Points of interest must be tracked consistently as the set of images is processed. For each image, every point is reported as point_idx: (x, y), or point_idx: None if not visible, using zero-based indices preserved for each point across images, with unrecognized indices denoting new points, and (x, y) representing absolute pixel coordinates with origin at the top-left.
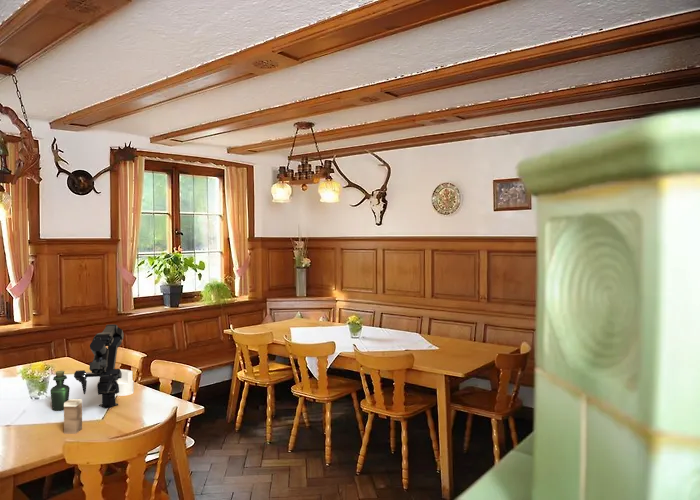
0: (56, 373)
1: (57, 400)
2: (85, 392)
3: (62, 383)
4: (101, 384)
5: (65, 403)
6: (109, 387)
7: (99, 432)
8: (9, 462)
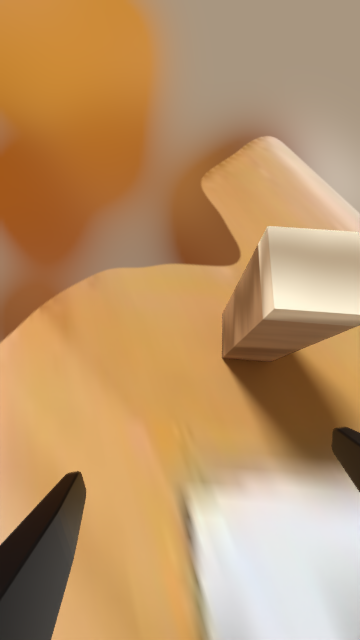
0: None
1: None
2: (350, 474)
3: None
4: None
5: (343, 233)
6: (3, 563)
7: (139, 319)
8: (288, 155)
